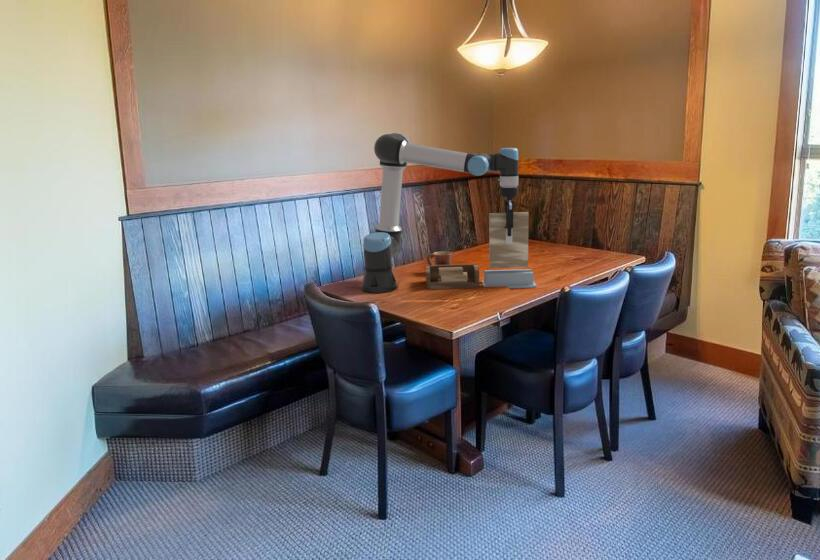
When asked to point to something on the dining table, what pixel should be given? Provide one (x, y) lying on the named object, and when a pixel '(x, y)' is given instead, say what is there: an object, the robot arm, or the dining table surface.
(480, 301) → the dining table surface
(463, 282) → the offcut low
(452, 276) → the offcut mid
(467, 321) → the dining table surface
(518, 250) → the birch board
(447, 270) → the offcut top
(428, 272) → the rack
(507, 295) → the dining table surface
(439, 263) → the mug
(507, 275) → the slotted stand
